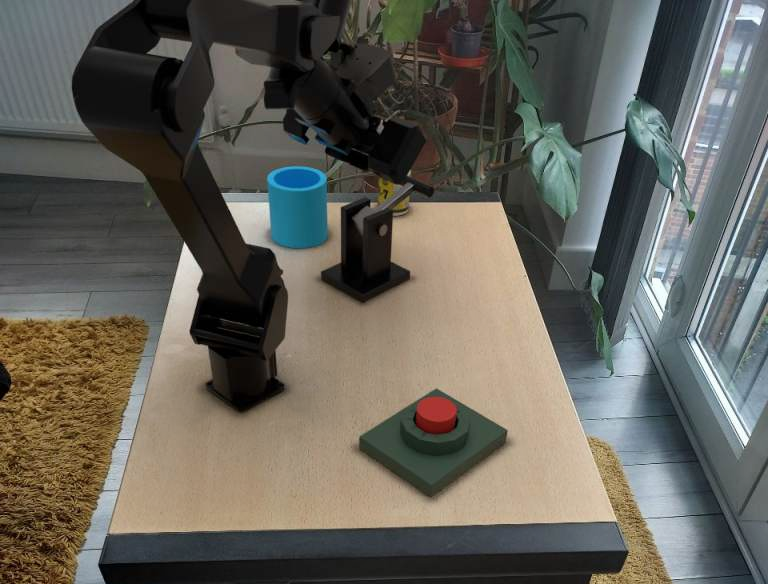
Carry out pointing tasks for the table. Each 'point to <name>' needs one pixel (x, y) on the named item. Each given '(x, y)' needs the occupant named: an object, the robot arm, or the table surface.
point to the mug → (298, 206)
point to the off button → (436, 415)
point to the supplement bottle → (387, 190)
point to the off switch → (432, 445)
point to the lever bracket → (365, 255)
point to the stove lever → (393, 200)
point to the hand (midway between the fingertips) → (385, 169)
